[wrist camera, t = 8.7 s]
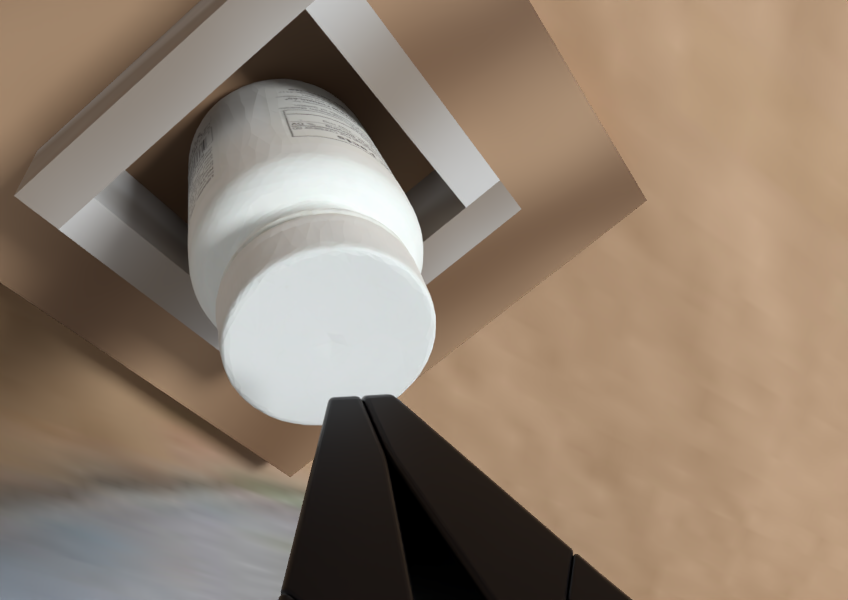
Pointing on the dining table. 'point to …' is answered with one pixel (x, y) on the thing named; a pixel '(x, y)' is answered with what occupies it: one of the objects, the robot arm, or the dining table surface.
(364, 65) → the board
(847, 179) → the dining table surface
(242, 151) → the pill bottle
